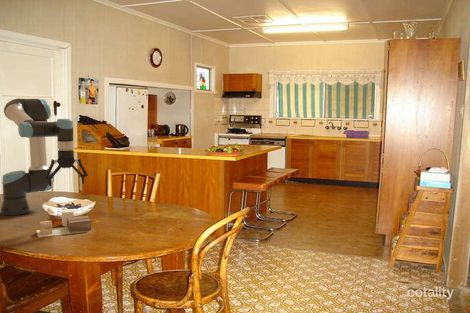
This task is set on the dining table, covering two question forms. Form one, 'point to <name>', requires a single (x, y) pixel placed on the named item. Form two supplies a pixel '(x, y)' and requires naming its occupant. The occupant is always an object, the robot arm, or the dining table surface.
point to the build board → (57, 232)
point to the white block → (66, 216)
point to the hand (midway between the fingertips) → (66, 191)
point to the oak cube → (46, 227)
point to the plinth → (78, 224)
